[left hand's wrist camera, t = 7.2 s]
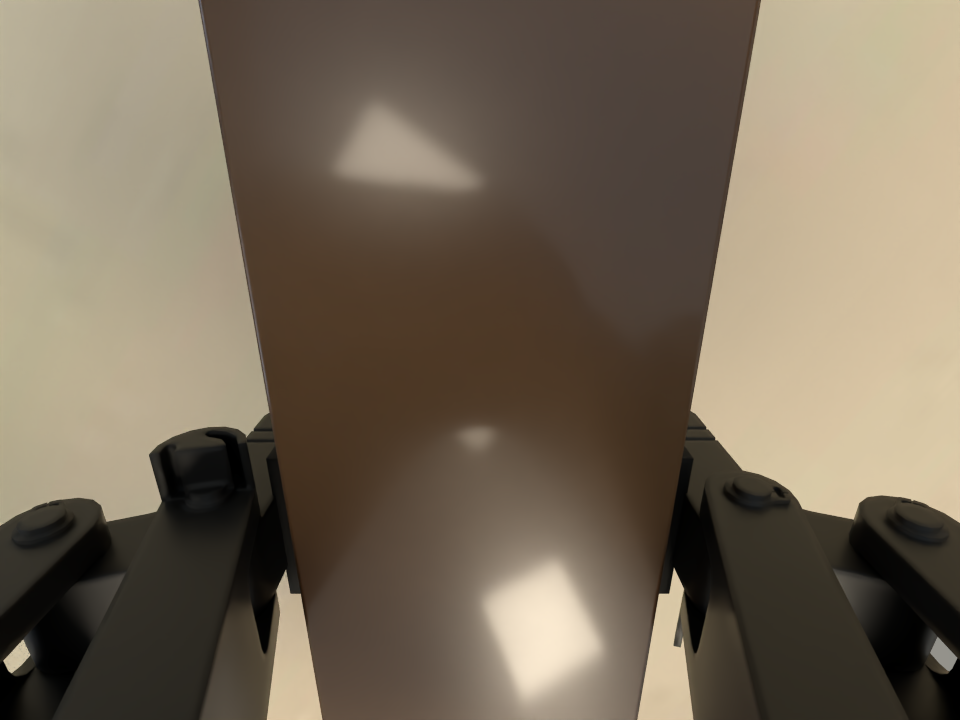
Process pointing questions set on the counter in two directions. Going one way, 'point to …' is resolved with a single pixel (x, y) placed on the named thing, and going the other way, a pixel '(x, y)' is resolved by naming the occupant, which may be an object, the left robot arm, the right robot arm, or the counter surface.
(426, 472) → the beam
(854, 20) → the counter surface
